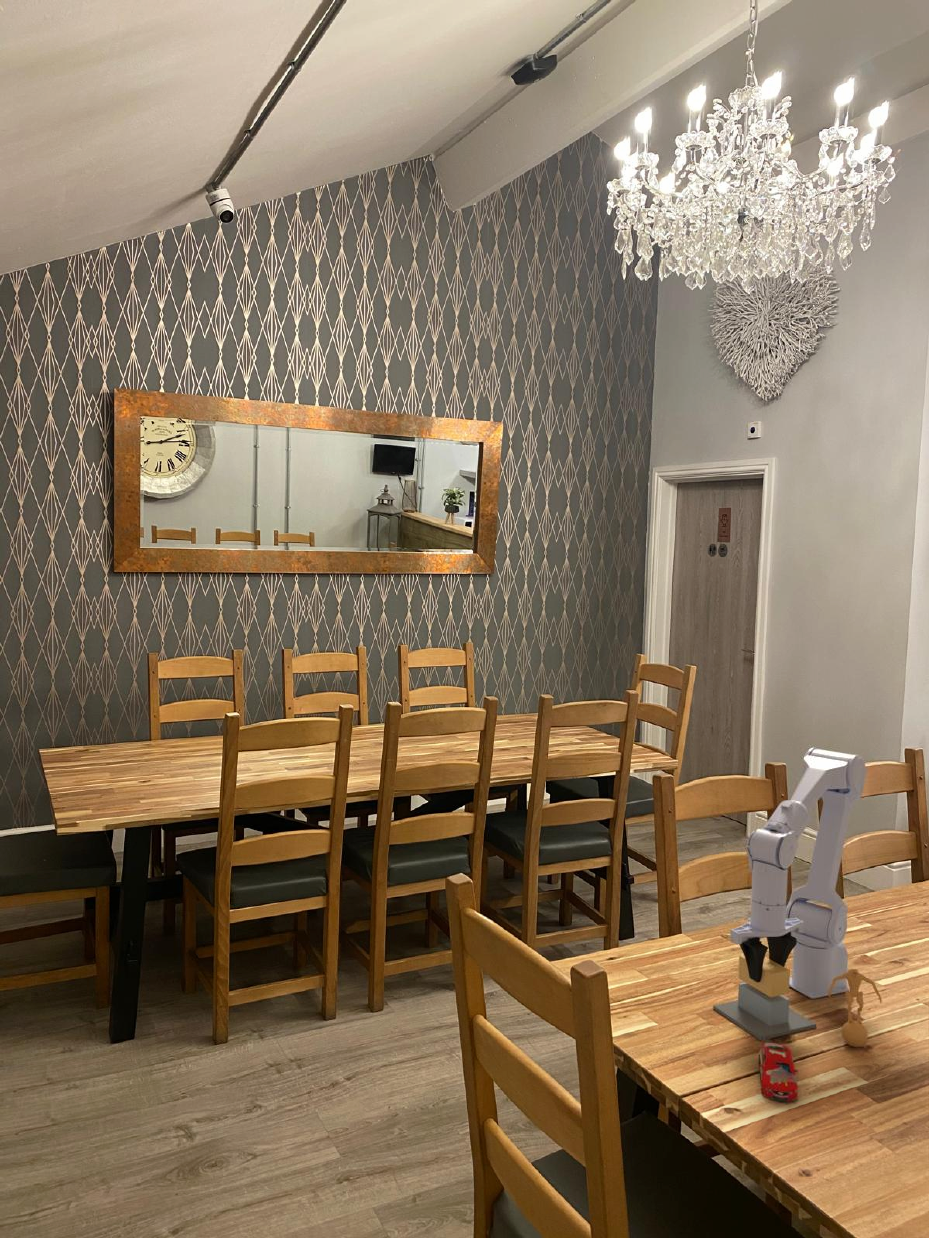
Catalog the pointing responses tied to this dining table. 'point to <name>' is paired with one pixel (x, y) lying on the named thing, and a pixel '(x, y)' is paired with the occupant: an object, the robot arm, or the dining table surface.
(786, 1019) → the slate brick
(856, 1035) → the figurine
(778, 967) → the ochre brick
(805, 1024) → the mat
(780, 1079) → the race car
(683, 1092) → the dining table surface
